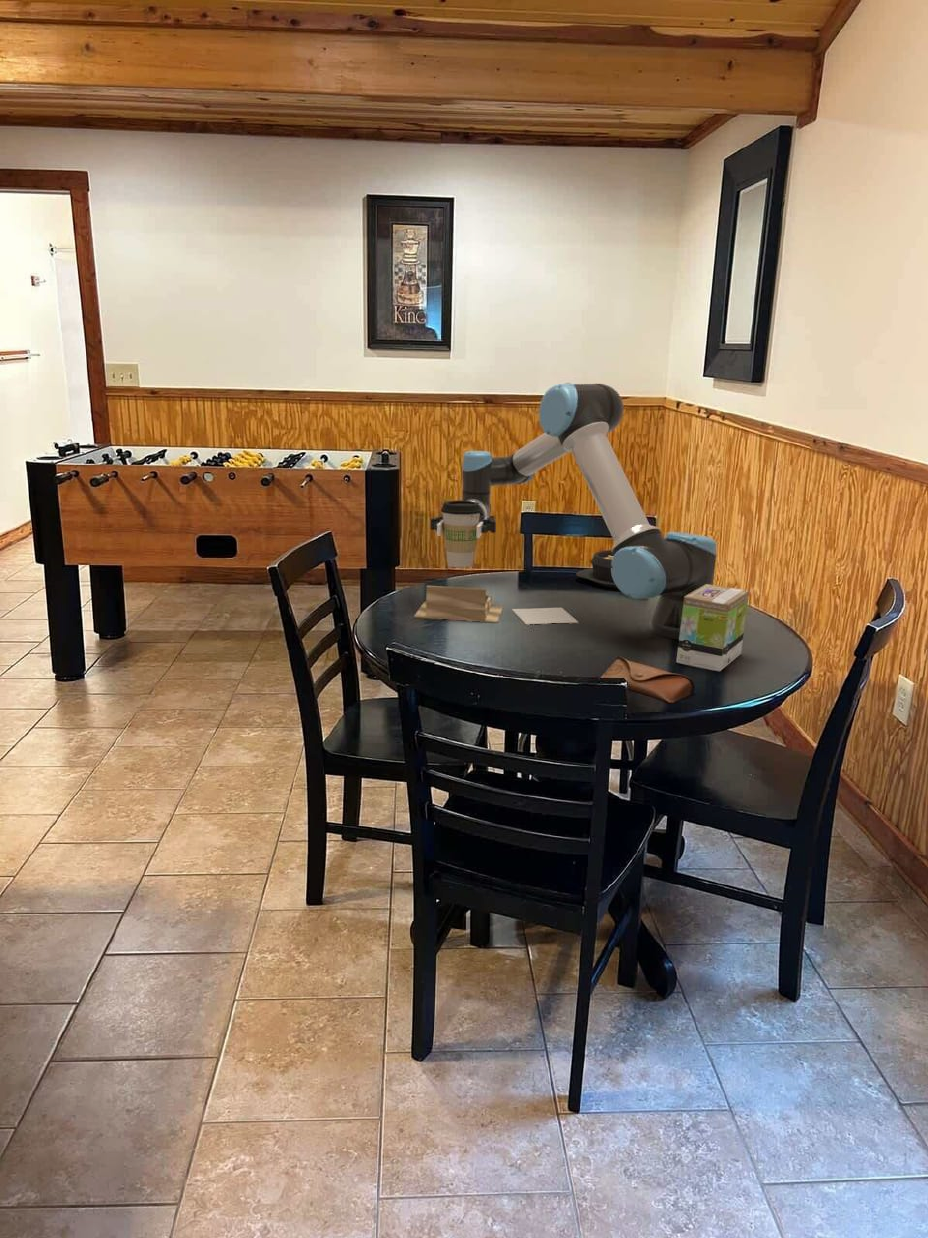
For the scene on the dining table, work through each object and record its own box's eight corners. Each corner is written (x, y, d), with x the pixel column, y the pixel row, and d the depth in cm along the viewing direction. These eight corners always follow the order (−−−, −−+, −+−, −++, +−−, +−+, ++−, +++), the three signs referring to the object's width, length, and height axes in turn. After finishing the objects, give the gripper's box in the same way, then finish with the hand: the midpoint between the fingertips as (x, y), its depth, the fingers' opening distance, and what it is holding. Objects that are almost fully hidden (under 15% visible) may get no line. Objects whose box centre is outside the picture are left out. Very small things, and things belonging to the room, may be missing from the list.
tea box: (722, 673, 189) (730, 603, 185) (675, 663, 194) (681, 595, 190) (742, 654, 201) (750, 588, 197) (697, 646, 206) (704, 581, 202)
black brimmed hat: (672, 584, 262) (675, 555, 260) (649, 598, 247) (651, 567, 244) (591, 572, 274) (593, 544, 272) (564, 584, 259) (566, 554, 257)
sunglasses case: (592, 679, 182) (604, 648, 183) (608, 689, 188) (619, 659, 189) (672, 704, 171) (684, 670, 172) (687, 713, 176) (698, 681, 177)
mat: (578, 623, 221) (578, 621, 221) (525, 625, 218) (526, 623, 218) (561, 608, 233) (561, 607, 233) (511, 610, 231) (511, 609, 231)
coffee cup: (455, 570, 218) (456, 507, 214) (432, 563, 225) (432, 501, 221) (488, 566, 223) (490, 504, 219) (464, 558, 231) (465, 499, 227)
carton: (426, 599, 238) (426, 569, 236) (504, 604, 236) (505, 574, 234) (413, 617, 222) (414, 585, 220) (497, 623, 219) (498, 590, 217)
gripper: (511, 532, 239) (503, 549, 217) (429, 528, 241) (413, 544, 220) (512, 503, 237) (504, 517, 215) (430, 499, 239) (413, 513, 218)
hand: (458, 531), depth 217 cm, fingers closed on coffee cup, 9 cm apart
